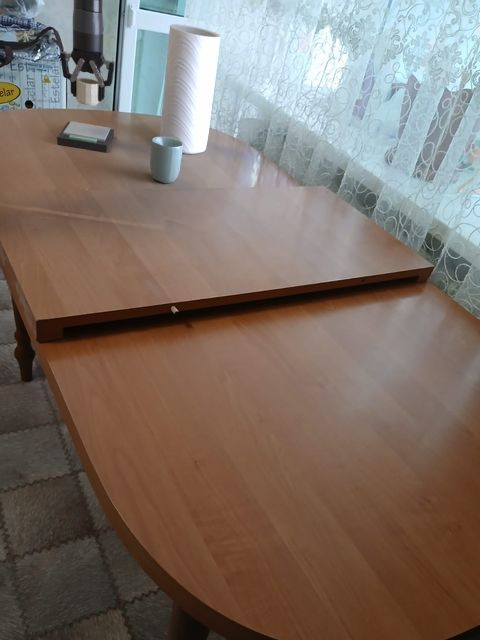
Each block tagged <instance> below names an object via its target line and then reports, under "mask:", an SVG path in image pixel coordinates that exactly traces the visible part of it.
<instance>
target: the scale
mask: <svg viewBox="0 0 480 640" xmlns="http://www.w3.org/2000/svg"><path fill="white" fill-rule="evenodd" d="M114 138H115V129H113V128H111V127H108V126H101V125H96V124H90V123H84V122H80V121H79V122H78V121H72V120H71V121H67V122H66V124H65V125H64V127H63V128H62V130H61V131H60V133H59V134H58V135H57V137H56V142H57V143H56V144H57V145H59V146H65V147H71V148H75V149H76V148H77V149H83V150H88V151H94V152H100V153H107V152H108V151H109V148H110V146H111V143H112V141H113V139H114Z"/></svg>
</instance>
